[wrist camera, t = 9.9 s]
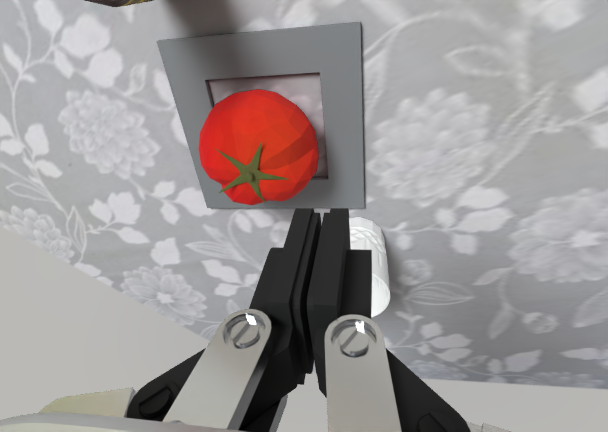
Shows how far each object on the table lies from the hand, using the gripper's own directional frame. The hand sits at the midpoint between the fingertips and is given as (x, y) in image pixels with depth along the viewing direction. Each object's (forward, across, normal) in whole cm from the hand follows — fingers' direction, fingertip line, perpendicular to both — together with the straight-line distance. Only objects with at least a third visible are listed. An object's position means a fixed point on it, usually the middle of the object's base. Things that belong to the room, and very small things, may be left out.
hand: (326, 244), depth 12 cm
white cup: (+29, +1, +23) cm, 37 cm away
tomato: (+29, +10, +8) cm, 32 cm away
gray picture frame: (+29, +10, +8) cm, 32 cm away
